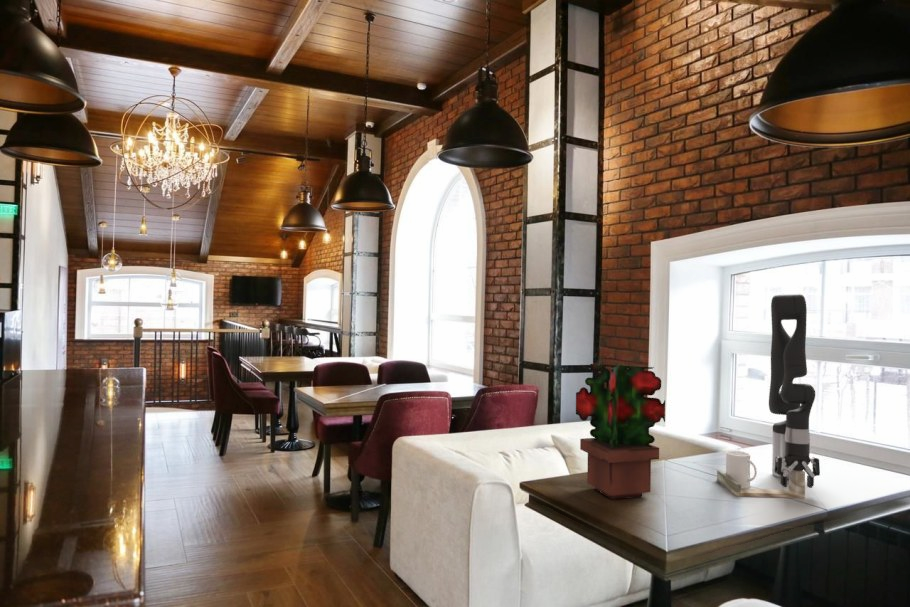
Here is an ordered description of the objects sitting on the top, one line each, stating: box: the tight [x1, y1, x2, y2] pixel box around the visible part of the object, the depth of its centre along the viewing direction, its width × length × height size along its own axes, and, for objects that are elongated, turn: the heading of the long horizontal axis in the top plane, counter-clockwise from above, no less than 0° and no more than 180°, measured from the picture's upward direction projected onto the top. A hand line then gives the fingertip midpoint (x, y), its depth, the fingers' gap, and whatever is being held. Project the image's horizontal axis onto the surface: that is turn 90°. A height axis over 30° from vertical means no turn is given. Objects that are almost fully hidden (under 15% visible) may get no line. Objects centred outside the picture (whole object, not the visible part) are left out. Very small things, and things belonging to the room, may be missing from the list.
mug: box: [725, 450, 757, 489], centre depth 227 cm, size 12×8×12 cm
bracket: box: [716, 469, 806, 499], centre depth 224 cm, size 23×19×9 cm
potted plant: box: [575, 363, 666, 500], centre depth 218 cm, size 22×22×45 cm
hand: (796, 487), depth 216 cm, fingers open, 8 cm apart
